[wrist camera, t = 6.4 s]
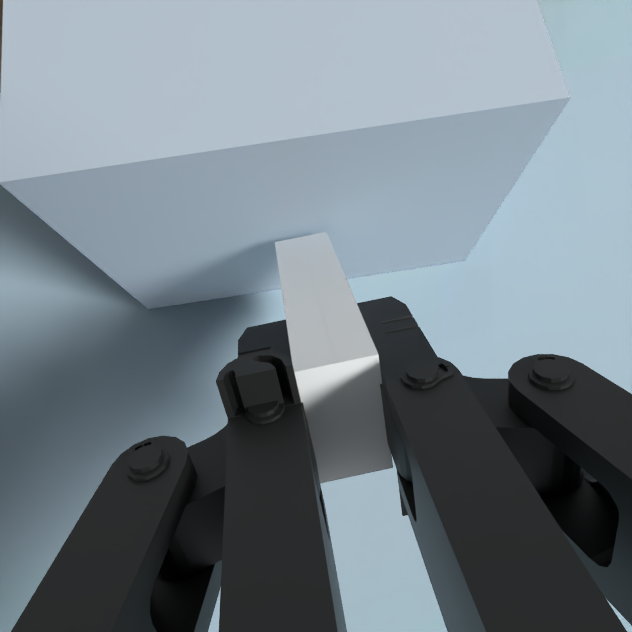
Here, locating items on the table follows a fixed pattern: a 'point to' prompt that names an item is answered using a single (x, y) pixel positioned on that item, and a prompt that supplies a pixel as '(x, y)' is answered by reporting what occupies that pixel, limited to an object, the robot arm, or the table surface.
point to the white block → (269, 131)
